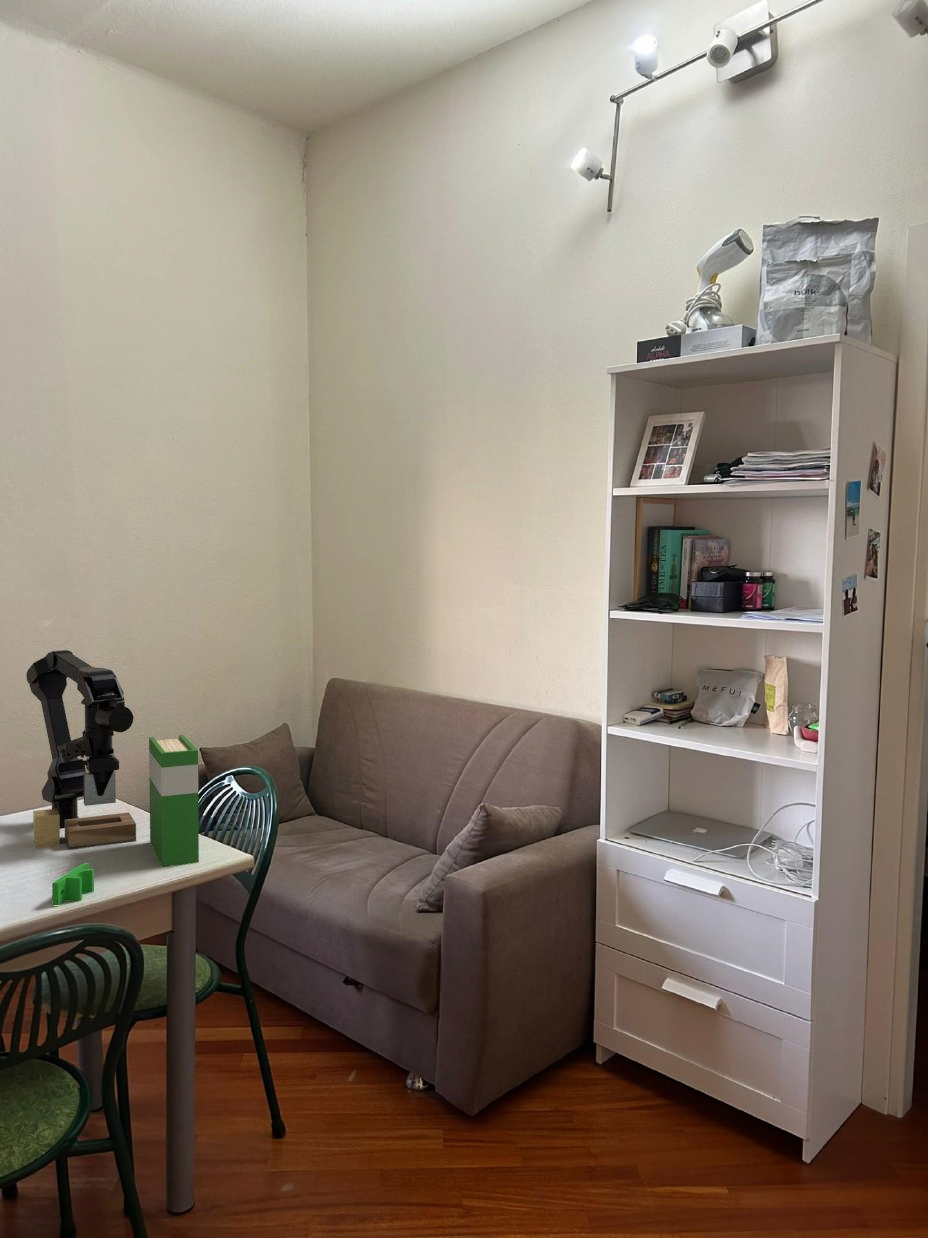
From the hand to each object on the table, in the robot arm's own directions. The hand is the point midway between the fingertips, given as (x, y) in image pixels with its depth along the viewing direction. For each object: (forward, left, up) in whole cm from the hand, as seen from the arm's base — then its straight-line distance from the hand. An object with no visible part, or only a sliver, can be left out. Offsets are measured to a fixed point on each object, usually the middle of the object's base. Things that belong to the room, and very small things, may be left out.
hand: (99, 794), depth 211 cm
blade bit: (0, 0, -2) cm, 2 cm away
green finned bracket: (+35, -8, -11) cm, 37 cm away
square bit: (-2, -11, -10) cm, 15 cm away
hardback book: (+17, +13, -11) cm, 24 cm away
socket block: (0, 0, -10) cm, 10 cm away
